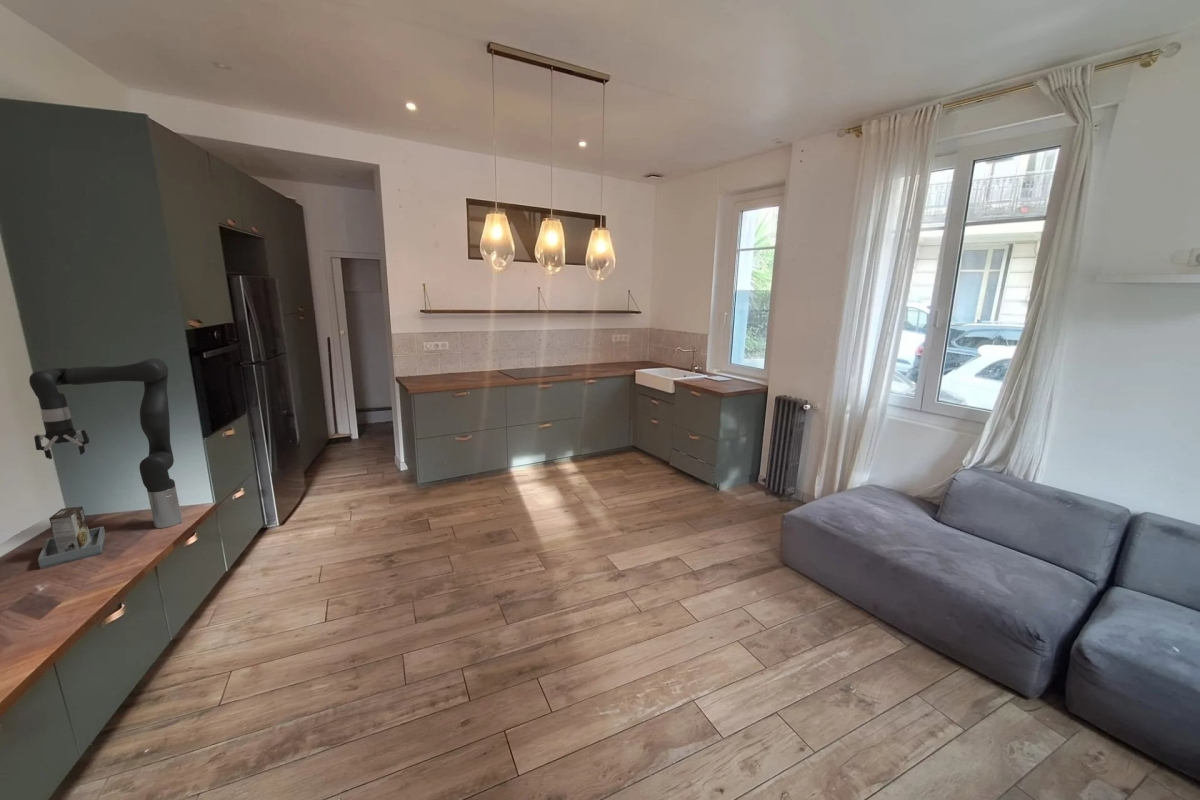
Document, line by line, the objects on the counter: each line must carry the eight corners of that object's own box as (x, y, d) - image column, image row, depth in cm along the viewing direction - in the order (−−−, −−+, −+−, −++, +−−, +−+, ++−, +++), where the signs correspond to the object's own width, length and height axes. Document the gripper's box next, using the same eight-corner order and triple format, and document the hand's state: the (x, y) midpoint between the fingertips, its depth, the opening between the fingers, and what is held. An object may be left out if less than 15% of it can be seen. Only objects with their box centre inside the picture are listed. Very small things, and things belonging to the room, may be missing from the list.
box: (105, 534, 199) (103, 526, 198) (101, 553, 185) (99, 544, 184) (48, 547, 188) (46, 538, 187) (40, 569, 174) (37, 559, 173)
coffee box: (70, 544, 189) (61, 508, 185) (92, 541, 192) (83, 505, 188) (57, 555, 181) (47, 518, 177) (80, 552, 184) (71, 515, 180)
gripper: (84, 413, 193) (92, 450, 197) (31, 419, 184) (41, 457, 187) (82, 417, 188) (91, 455, 192) (27, 423, 178) (38, 462, 182)
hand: (66, 456), depth 189 cm, fingers open, 8 cm apart
